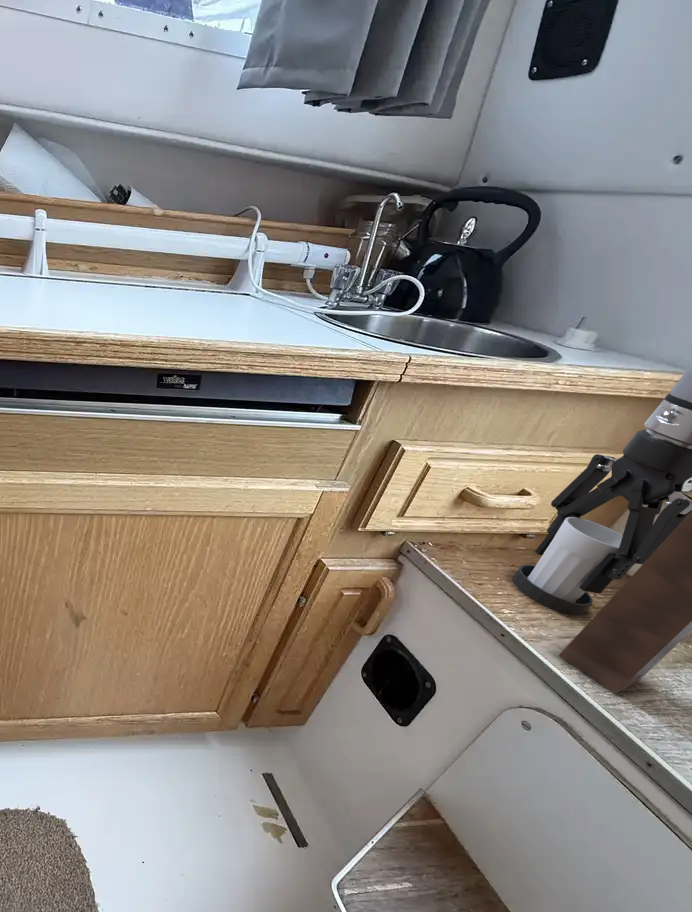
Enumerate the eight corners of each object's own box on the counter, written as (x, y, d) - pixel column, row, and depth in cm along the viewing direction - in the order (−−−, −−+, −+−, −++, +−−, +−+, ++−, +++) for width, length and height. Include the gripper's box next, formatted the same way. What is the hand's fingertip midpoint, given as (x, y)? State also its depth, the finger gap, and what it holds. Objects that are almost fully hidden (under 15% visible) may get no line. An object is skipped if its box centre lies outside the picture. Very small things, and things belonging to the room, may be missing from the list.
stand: (636, 682, 71) (863, 469, 55) (614, 694, 69) (846, 474, 53) (580, 645, 76) (774, 440, 60) (558, 655, 73) (754, 443, 57)
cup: (573, 618, 82) (630, 555, 76) (512, 586, 87) (561, 524, 81) (582, 600, 87) (636, 539, 81) (523, 571, 92) (570, 511, 86)
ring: (575, 592, 89) (583, 582, 88) (591, 624, 81) (600, 614, 80) (508, 566, 92) (515, 557, 91) (517, 595, 85) (525, 585, 84)
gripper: (585, 405, 82) (496, 529, 93) (735, 473, 64) (601, 616, 75) (631, 413, 82) (536, 535, 94) (793, 483, 64) (651, 623, 76)
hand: (565, 571), depth 84 cm, fingers closed on cup, 8 cm apart
